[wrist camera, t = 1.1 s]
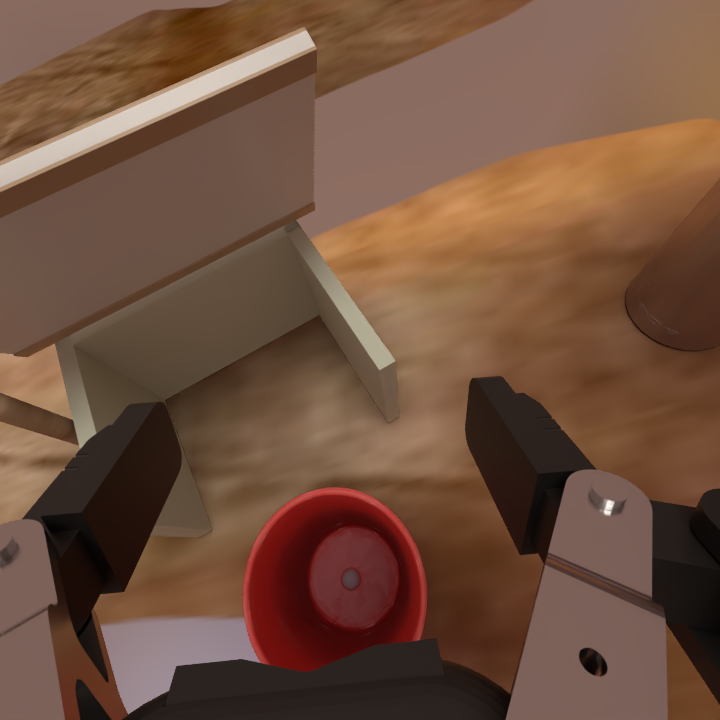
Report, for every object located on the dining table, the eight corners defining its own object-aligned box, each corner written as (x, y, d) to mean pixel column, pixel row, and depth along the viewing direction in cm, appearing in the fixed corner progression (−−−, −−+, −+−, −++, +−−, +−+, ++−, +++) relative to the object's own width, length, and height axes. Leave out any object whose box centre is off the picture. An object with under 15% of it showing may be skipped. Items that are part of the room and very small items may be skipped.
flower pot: (287, 666, 29) (235, 719, 20) (287, 508, 34) (244, 495, 25) (432, 656, 28) (443, 705, 20) (411, 496, 33) (412, 478, 24)
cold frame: (323, 301, 42) (294, 218, 31) (399, 416, 36) (395, 360, 25) (150, 396, 40) (54, 340, 29) (199, 537, 33) (100, 533, 23)
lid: (314, 210, 31) (308, 198, 31) (316, 49, 16) (304, 26, 16) (27, 356, 28) (20, 344, 28) (-307, 330, 13) (-323, 303, 13)
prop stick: (166, 451, 37) (-156, 326, 16) (170, 464, 36) (-158, 352, 15) (152, 459, 37) (-192, 343, 16) (156, 472, 36) (-195, 370, 15)
